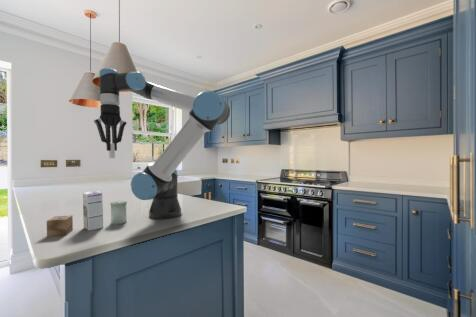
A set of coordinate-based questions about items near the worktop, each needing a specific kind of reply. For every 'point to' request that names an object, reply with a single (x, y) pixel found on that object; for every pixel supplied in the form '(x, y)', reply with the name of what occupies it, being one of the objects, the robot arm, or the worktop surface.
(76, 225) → the worktop surface
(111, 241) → the worktop surface
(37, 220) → the worktop surface
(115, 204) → the sage jar
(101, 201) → the syrup box
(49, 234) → the cardboard box
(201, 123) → the robot arm
